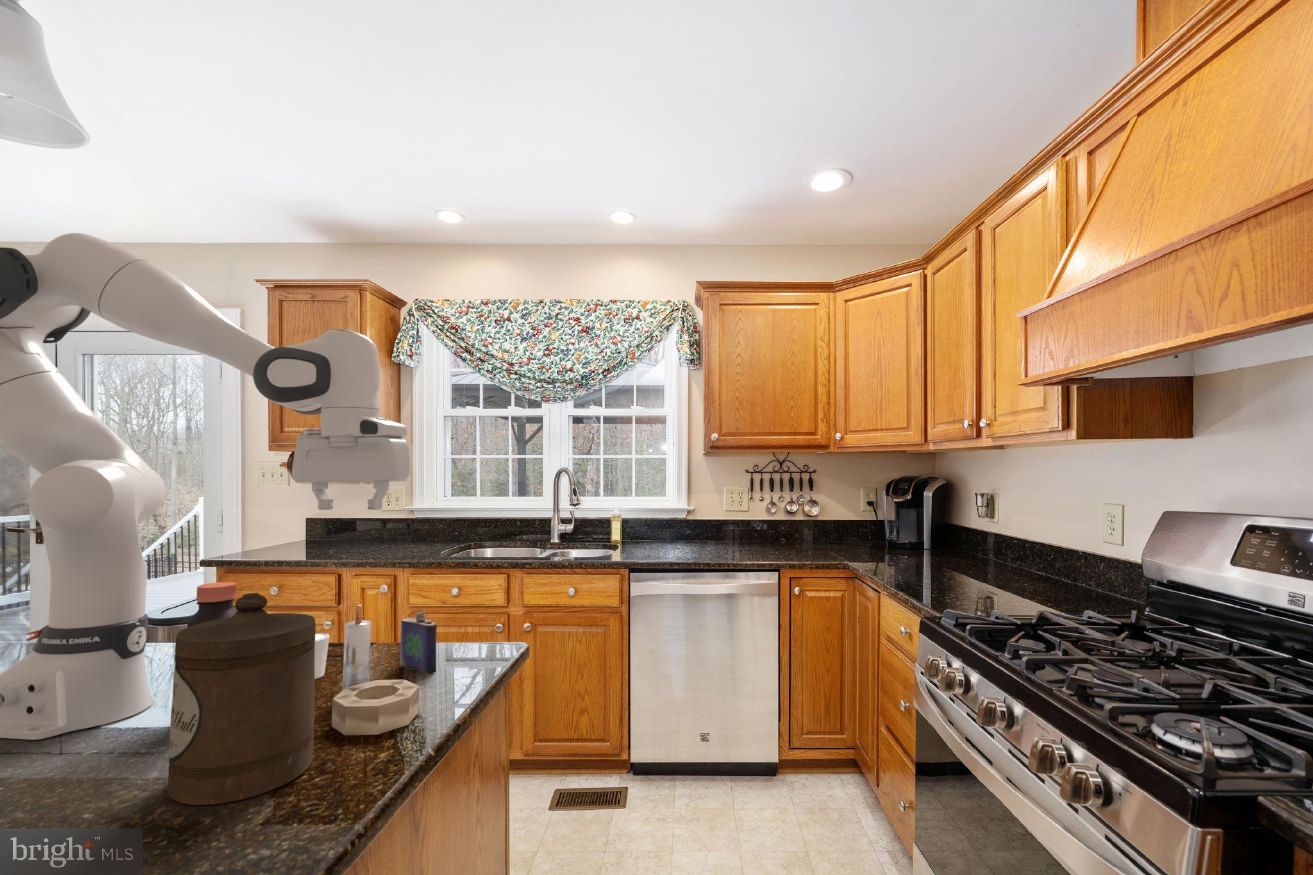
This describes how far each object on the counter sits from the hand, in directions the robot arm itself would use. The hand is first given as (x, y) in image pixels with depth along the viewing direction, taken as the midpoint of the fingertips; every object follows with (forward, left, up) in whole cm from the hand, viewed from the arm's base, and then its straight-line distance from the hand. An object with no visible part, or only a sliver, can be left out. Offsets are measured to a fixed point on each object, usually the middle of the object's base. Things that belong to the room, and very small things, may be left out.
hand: (350, 509), depth 101 cm
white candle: (+1, +2, -31) cm, 31 cm away
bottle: (-17, -6, -31) cm, 36 cm away
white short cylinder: (-12, +13, -31) cm, 36 cm away
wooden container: (-2, -24, -31) cm, 40 cm away
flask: (+7, +16, -31) cm, 36 cm away
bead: (+8, -8, -31) cm, 33 cm away
